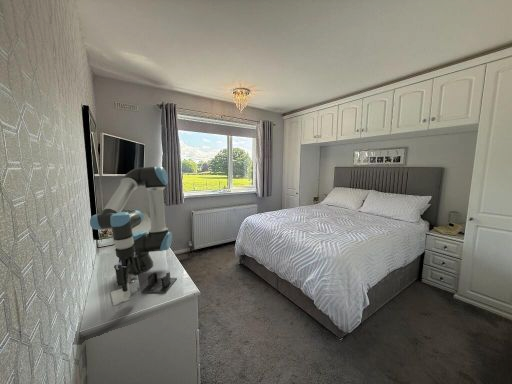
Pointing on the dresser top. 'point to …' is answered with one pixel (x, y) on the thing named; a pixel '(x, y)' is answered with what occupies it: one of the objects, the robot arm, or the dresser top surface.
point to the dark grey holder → (158, 284)
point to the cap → (133, 286)
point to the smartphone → (118, 297)
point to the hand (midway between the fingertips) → (132, 291)
